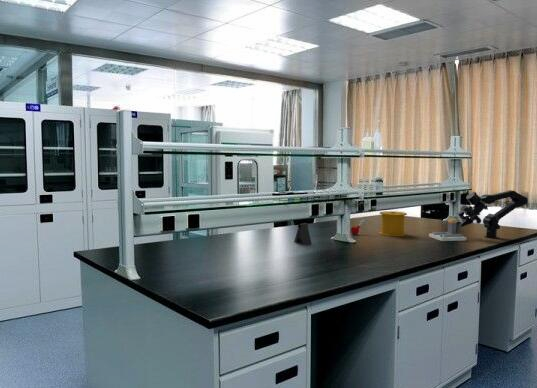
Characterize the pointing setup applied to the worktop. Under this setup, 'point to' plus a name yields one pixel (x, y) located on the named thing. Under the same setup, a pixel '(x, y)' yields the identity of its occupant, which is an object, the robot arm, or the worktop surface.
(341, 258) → the worktop surface
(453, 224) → the breaker handle
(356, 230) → the molecular model
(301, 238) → the phone stand
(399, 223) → the spool
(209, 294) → the worktop surface
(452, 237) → the white rail base plate
